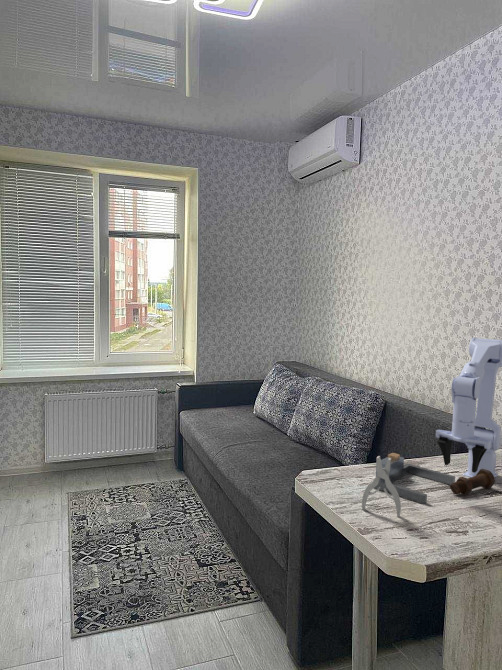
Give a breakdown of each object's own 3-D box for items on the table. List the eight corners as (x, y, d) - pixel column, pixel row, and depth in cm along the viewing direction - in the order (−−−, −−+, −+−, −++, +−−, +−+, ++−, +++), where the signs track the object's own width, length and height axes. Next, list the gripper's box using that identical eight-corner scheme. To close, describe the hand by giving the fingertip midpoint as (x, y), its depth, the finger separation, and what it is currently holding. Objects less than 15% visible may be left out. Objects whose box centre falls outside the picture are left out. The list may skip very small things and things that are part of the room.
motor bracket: (399, 468, 167) (400, 447, 166) (454, 484, 155) (456, 461, 154) (365, 485, 152) (367, 462, 151) (424, 504, 140) (425, 479, 139)
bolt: (464, 489, 143) (498, 478, 150) (451, 475, 146) (485, 465, 154) (455, 502, 146) (488, 491, 153) (442, 488, 149) (476, 478, 157)
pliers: (400, 516, 132) (404, 459, 131) (399, 518, 131) (403, 461, 129) (362, 508, 136) (365, 453, 135) (361, 510, 135) (364, 455, 134)
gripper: (432, 417, 144) (429, 464, 145) (485, 428, 134) (482, 478, 135) (442, 413, 149) (440, 458, 150) (495, 423, 139) (491, 471, 140)
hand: (460, 467), depth 143 cm, fingers open, 7 cm apart
